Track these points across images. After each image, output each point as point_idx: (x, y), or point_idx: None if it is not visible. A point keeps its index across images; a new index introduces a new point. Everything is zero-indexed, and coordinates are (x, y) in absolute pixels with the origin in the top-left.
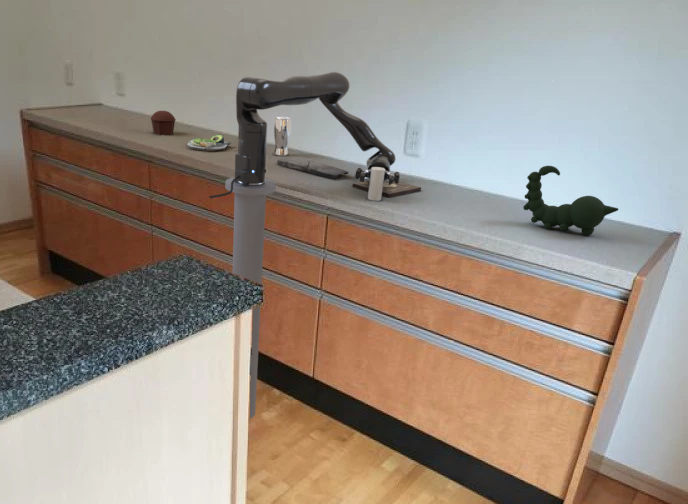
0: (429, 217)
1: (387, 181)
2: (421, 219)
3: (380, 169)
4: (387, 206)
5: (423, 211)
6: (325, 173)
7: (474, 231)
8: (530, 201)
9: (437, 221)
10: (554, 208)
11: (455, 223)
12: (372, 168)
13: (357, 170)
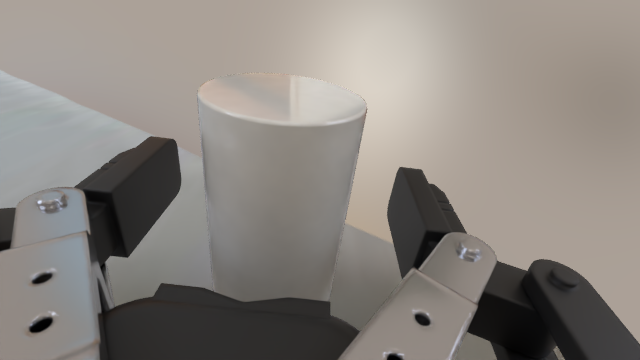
0: (87, 141)
1: (113, 302)
2: (138, 131)
3: (264, 78)
4: None
5: (50, 183)
6: None
7: (28, 92)
8: None
9: (87, 123)
10: None
11: (28, 116)
12: (349, 91)
13: (617, 337)
